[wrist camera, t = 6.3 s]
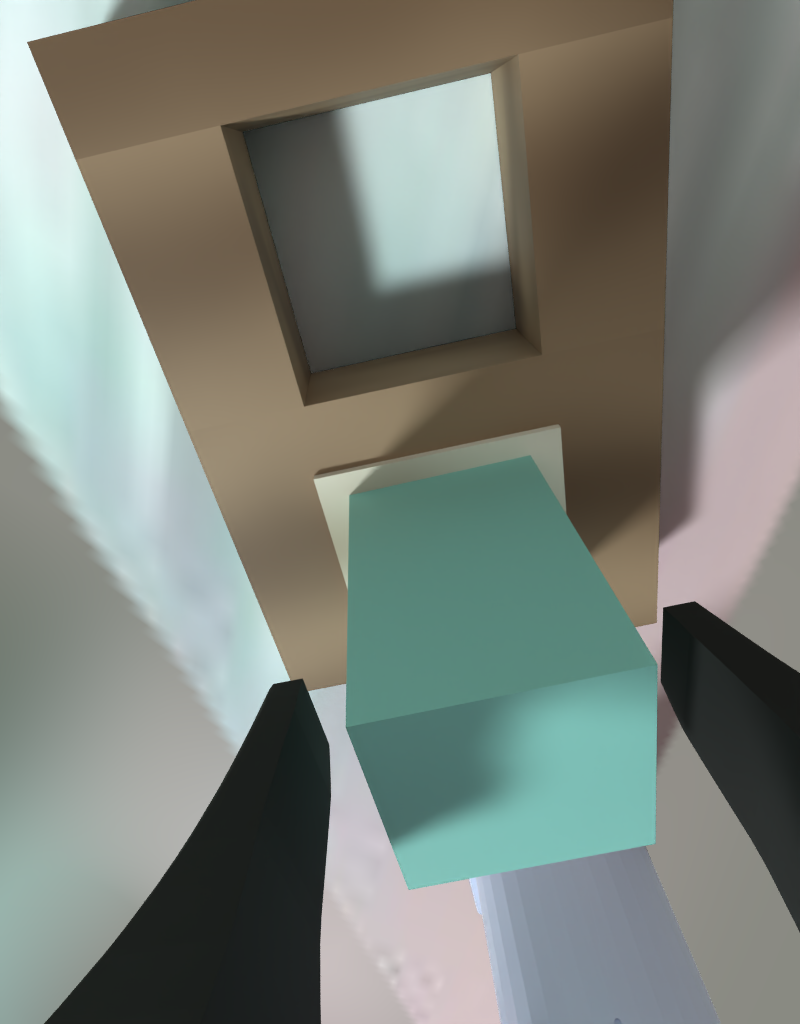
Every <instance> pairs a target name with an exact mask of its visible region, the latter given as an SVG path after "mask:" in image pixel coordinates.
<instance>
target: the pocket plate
mask: <svg viewBox="0 0 800 1024" xmlns="http://www.w3.org/2000/svg"><path fill="white" fill-rule="evenodd" d="M672 29H673V0H195V1H191V2H187V3H183V4H179V5H175V6H171V7H167V8H163V9H159V10H155V11H150V12H146V13H142V14H138V15H134V16H130V17H126V18H122V19H118V20H114V21H110V22H106V23H102V24H98V25H94V26H90V27H86V28H82V29H78V30H74V31H70V32H66V33H62V34H58V35H54V36H50V37H46V38H42V39H38V40H34V41H30V42H27V43H28V45H29V48H30V50H31V53H32V55H33V57H34V60H35V62H36V65H37V67H38V70H39V72H40V74H41V77H42V79H43V82H44V84H45V86H46V89H47V91H48V94H49V96H50V99H51V101H52V103H53V106H54V108H55V111H56V113H57V116H58V118H59V120H60V123H61V125H62V128H63V130H64V133H65V135H66V137H67V140H68V142H69V145H70V147H71V149H72V152H73V154H74V157H75V159H76V162H77V164H78V166H79V169H80V171H81V174H82V176H83V179H84V181H85V183H86V186H87V188H88V191H89V193H90V196H91V198H92V200H93V203H94V205H95V208H96V210H97V212H98V215H99V217H100V220H101V222H102V225H103V227H104V229H105V232H106V234H107V237H108V239H109V242H110V244H111V246H112V249H113V251H114V254H115V256H116V258H117V261H118V263H119V266H120V268H121V271H122V273H123V275H124V278H125V280H126V283H127V285H128V288H129V290H130V292H131V295H132V297H133V300H134V302H135V305H136V307H137V309H138V312H139V314H140V317H141V319H142V321H143V324H144V326H145V329H146V331H147V334H148V336H149V338H150V341H151V343H152V346H153V348H154V351H155V353H156V355H157V358H158V360H159V363H160V365H161V368H162V370H163V372H164V375H165V377H166V380H167V382H168V384H169V387H170V389H171V392H172V394H173V397H174V399H175V401H176V404H177V406H178V409H179V411H180V414H181V416H182V418H183V421H184V423H185V426H186V428H187V431H188V433H189V435H190V438H191V440H192V443H193V445H194V447H195V450H196V452H197V455H198V457H199V460H200V462H201V464H202V467H203V469H204V472H205V474H206V477H207V479H208V481H209V484H210V486H211V489H212V491H213V493H214V496H215V498H216V501H217V503H218V506H219V508H220V510H221V513H222V515H223V518H224V520H225V523H226V525H227V527H228V530H229V532H230V535H231V537H232V540H233V542H234V544H235V547H236V549H237V552H238V554H239V556H240V559H241V561H242V564H243V566H244V569H245V571H246V573H247V576H248V578H249V581H250V583H251V586H252V588H253V590H254V593H255V595H256V598H257V600H258V603H259V605H260V607H261V610H262V612H263V615H264V617H265V619H266V622H267V624H268V627H269V629H270V632H271V634H272V636H273V639H274V641H275V644H276V646H277V649H278V651H279V653H280V656H281V658H282V661H283V663H284V666H285V668H286V670H287V673H288V675H289V678H290V680H291V681H292V680H297V679H302V678H303V680H304V683H305V685H306V688H307V690H308V691H310V690H316V689H321V688H326V687H331V686H336V685H341V684H346V681H347V614H348V547H349V495H353V494H357V493H362V492H366V491H371V490H375V489H380V488H384V487H389V486H393V485H398V484H402V483H407V482H411V481H416V480H420V479H425V478H429V477H434V476H439V475H443V474H448V473H452V472H457V471H461V470H466V469H470V468H475V467H479V466H484V465H488V464H493V463H497V462H502V461H506V460H511V459H515V458H520V457H524V456H529V455H531V457H532V459H533V460H534V462H535V463H536V465H537V467H538V468H539V470H540V472H541V473H542V475H543V477H544V478H545V480H546V482H547V483H548V485H549V487H550V488H551V490H552V491H553V493H554V495H555V496H556V498H557V500H558V501H559V503H560V505H561V506H562V508H563V510H564V511H565V513H566V515H567V516H568V518H569V519H570V521H571V523H572V524H573V526H574V528H575V529H576V531H577V533H578V534H579V536H580V538H581V539H582V541H583V543H584V544H585V546H586V547H587V549H588V551H589V552H590V554H591V556H592V557H593V559H594V561H595V562H596V564H597V566H598V567H599V569H600V571H601V572H602V574H603V576H604V577H605V579H606V580H607V582H608V584H609V585H610V587H611V589H612V590H613V592H614V594H615V595H616V597H617V599H618V600H619V602H620V604H621V605H622V607H623V608H624V610H625V612H626V613H627V615H628V617H629V618H630V620H631V622H632V623H633V625H634V627H638V626H643V625H648V624H653V623H657V589H658V552H659V514H660V477H661V439H662V402H663V365H664V327H665V290H666V253H667V215H668V178H669V141H670V103H671V66H672ZM488 73H491V79H492V89H493V99H494V110H495V120H496V130H497V140H498V150H499V160H500V170H501V180H502V191H503V201H504V211H505V221H506V231H507V241H508V251H509V261H510V271H511V282H512V292H513V302H514V312H515V322H516V329H513V330H508V331H503V332H499V333H494V334H490V335H485V336H481V337H476V338H471V339H467V340H462V341H458V342H453V343H449V344H444V345H439V346H435V347H430V348H426V349H421V350H417V351H412V352H407V353H403V354H398V355H394V356H389V357H385V358H380V359H375V360H371V361H366V362H362V363H357V364H353V365H348V366H343V367H339V368H334V369H330V370H325V371H321V372H316V373H311V372H310V369H309V365H308V362H307V358H306V355H305V351H304V348H303V344H302V340H301V337H300V333H299V330H298V326H297V323H296V319H295V316H294V312H293V309H292V305H291V302H290V298H289V295H288V291H287V288H286V284H285V281H284V277H283V273H282V270H281V266H280V263H279V259H278V256H277V252H276V249H275V245H274V242H273V238H272V235H271V231H270V228H269V224H268V221H267V217H266V213H265V210H264V206H263V203H262V199H261V196H260V192H259V189H258V185H257V182H256V178H255V175H254V171H253V168H252V164H251V161H250V157H249V153H248V150H247V146H246V143H245V139H244V136H243V132H244V131H248V130H253V129H257V128H261V127H265V126H270V125H274V124H278V123H282V122H286V121H291V120H295V119H299V118H303V117H307V116H312V115H316V114H320V113H324V112H328V111H333V110H337V109H341V108H345V107H349V106H354V105H358V104H362V103H366V102H370V101H375V100H379V99H383V98H387V97H391V96H396V95H400V94H404V93H408V92H412V91H417V90H421V89H425V88H429V87H434V86H438V85H442V84H446V83H450V82H455V81H459V80H463V79H467V78H471V77H476V76H480V75H484V74H488Z"/></svg>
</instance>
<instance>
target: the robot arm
mask: <svg viewBox="0 0 800 1024" xmlns="http://www.w3.org/2000/svg"><path fill="white" fill-rule="evenodd" d="M661 683H662V685H663V688H664V690H665V692H666V694H667V696H668V699H669V701H670V703H671V705H672V707H673V710H674V712H675V714H676V716H677V718H678V720H679V722H680V724H681V726H682V728H683V730H684V732H685V733H686V735H687V737H688V739H689V740H690V742H691V743H692V745H693V747H694V748H695V750H696V751H697V753H698V755H699V756H700V758H701V760H702V761H703V763H704V764H705V766H706V768H707V769H708V771H709V773H710V774H711V776H712V778H713V779H714V781H715V782H716V784H717V785H718V787H719V789H720V790H721V792H722V794H723V795H724V797H725V798H726V800H727V801H728V803H729V805H730V806H731V808H732V809H733V811H734V813H735V814H736V816H737V817H738V819H739V821H740V822H741V824H742V825H743V827H744V829H745V830H746V832H747V834H748V835H749V837H750V838H751V840H752V842H753V843H754V845H755V847H756V849H757V851H758V852H759V854H760V856H761V857H762V859H763V861H764V863H765V864H766V866H767V868H768V870H769V872H770V874H771V876H772V878H773V880H774V882H775V884H776V886H777V888H778V890H779V892H780V894H781V896H782V898H783V900H784V902H785V904H786V906H787V908H788V910H789V912H790V914H791V915H792V918H793V919H794V921H795V923H796V926H797V927H798V930H799V932H800V673H799V672H797V671H796V670H794V669H792V668H791V667H790V666H788V665H787V664H785V663H784V662H782V661H780V660H779V659H777V658H776V657H774V656H773V655H771V654H770V653H768V652H767V651H766V650H764V649H763V648H761V647H760V646H758V645H757V644H755V643H754V642H752V641H751V640H750V639H748V638H747V637H745V636H744V635H742V634H741V633H739V632H738V631H737V630H735V629H734V628H732V627H731V626H729V625H728V624H727V623H725V622H724V621H722V620H721V619H719V618H718V617H717V616H715V615H714V614H712V613H711V612H709V611H708V610H707V609H705V608H704V607H702V606H701V605H699V604H698V603H696V602H695V601H694V602H689V603H684V604H679V605H674V606H669V607H664V608H663V632H662V661H661ZM330 802H331V777H330V751H329V743H328V741H327V738H326V736H325V733H324V731H323V728H322V725H321V723H320V720H319V718H318V715H317V713H316V710H315V708H314V705H313V703H312V700H311V698H310V695H309V693H308V690H307V688H306V685H305V683H304V680H303V678H302V679H297V680H292V681H287V682H282V683H277V684H273V685H272V687H271V688H270V689H269V692H268V694H267V696H266V698H265V700H264V702H263V704H262V706H261V708H260V710H259V712H258V714H257V716H256V719H255V721H254V723H253V725H252V727H251V729H250V731H249V733H248V735H247V737H246V738H245V740H244V742H243V744H242V746H241V748H240V750H239V752H238V754H237V756H236V758H235V759H234V761H233V763H232V765H231V767H230V769H229V771H228V772H227V774H226V776H225V778H224V780H223V782H222V783H221V786H220V787H219V789H218V791H217V792H216V794H215V796H214V797H213V799H212V801H211V803H210V804H209V806H208V807H207V809H206V811H205V812H204V814H203V816H202V817H201V819H200V821H199V822H198V824H197V826H196V827H195V829H194V831H193V832H192V834H191V836H190V837H189V839H188V840H187V842H186V843H185V845H184V846H183V848H182V849H181V851H180V852H179V854H178V856H177V857H176V859H175V860H174V861H173V863H172V864H171V866H170V867H169V869H168V870H167V872H166V873H165V874H164V876H163V877H162V879H161V880H160V882H159V883H158V884H157V886H156V887H155V889H154V890H153V891H152V893H151V894H150V895H149V897H148V898H147V899H146V901H145V902H144V904H143V905H142V906H141V908H140V909H139V910H138V911H137V913H136V914H135V916H134V917H133V918H132V919H131V921H130V922H129V923H128V925H127V926H126V927H125V929H124V930H123V931H122V932H121V934H120V935H119V936H118V938H117V939H116V940H115V942H114V943H113V944H112V945H111V946H110V948H109V949H108V950H107V951H106V953H105V954H104V955H103V956H102V957H101V958H100V960H99V961H98V962H97V963H96V964H95V966H94V967H93V968H92V969H91V970H90V971H89V973H88V974H87V975H86V976H85V977H84V978H83V980H82V981H81V982H80V983H79V984H78V985H77V987H76V988H75V989H74V990H73V991H72V992H71V994H70V995H69V996H68V997H67V998H66V1000H65V1001H64V1002H63V1003H62V1004H61V1005H60V1007H59V1008H58V1009H57V1010H56V1011H55V1012H54V1013H53V1014H52V1015H51V1017H50V1018H49V1019H48V1020H47V1021H46V1022H45V1023H44V1024H321V1010H320V935H321V915H322V902H323V890H324V878H325V866H326V854H327V842H328V829H329V816H330ZM469 880H470V884H471V888H472V892H473V896H474V900H475V903H476V907H477V911H478V913H480V914H481V915H482V917H483V923H484V928H485V934H486V940H487V946H488V952H489V958H490V964H491V970H492V975H493V981H494V987H495V993H496V999H497V1005H498V1011H499V1016H500V1022H501V1024H721V1022H720V1020H719V1018H718V1015H717V1013H716V1010H715V1008H714V1006H713V1003H712V1001H711V999H710V996H709V994H708V992H707V989H706V987H705V985H704V982H703V980H702V978H701V975H700V973H699V971H698V968H697V966H696V964H695V961H694V959H693V957H692V954H691V952H690V950H689V947H688V945H687V943H686V940H685V938H684V936H683V933H682V931H681V928H680V926H679V924H678V921H677V919H676V917H675V915H674V913H673V910H672V908H671V905H670V903H669V900H668V898H667V896H666V893H665V891H664V889H663V886H662V884H661V882H660V879H659V877H658V875H657V873H656V870H655V868H654V865H653V863H652V861H651V858H650V856H649V854H648V851H647V849H646V847H645V846H641V847H636V848H631V849H625V850H620V851H614V852H609V853H604V854H598V855H593V856H588V857H582V858H577V859H572V860H566V861H561V862H556V863H550V864H545V865H540V866H534V867H529V868H523V869H518V870H513V871H507V872H502V873H497V874H491V875H486V876H481V877H475V878H470V879H469Z"/></svg>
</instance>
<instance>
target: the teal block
mask: <svg viewBox="0 0 800 1024" xmlns="http://www.w3.org/2000/svg"><path fill="white" fill-rule="evenodd" d="M346 729H347V732H348V734H349V737H350V739H351V742H352V745H353V747H354V750H355V752H356V755H357V757H358V760H359V763H360V765H361V768H362V770H363V773H364V776H365V778H366V781H367V783H368V786H369V788H370V791H371V794H372V796H373V799H374V801H375V804H376V806H377V809H378V812H379V814H380V817H381V819H382V822H383V825H384V827H385V830H386V832H387V835H388V837H389V840H390V843H391V845H392V848H393V850H394V853H395V856H396V858H397V861H398V863H399V866H400V868H401V871H402V874H403V876H404V879H405V881H406V884H407V886H408V889H409V890H411V889H416V888H422V887H427V886H432V885H438V884H443V883H448V882H454V881H459V880H465V879H470V878H475V877H481V876H486V875H491V874H497V873H502V872H507V871H513V870H518V869H523V868H529V867H534V866H540V865H545V864H550V863H556V862H561V861H566V860H572V859H577V858H582V857H588V856H593V855H598V854H604V853H609V852H614V851H620V850H625V849H631V848H636V847H641V846H646V845H652V844H655V841H656V840H655V838H656V754H657V663H656V661H655V660H654V658H653V656H652V655H651V653H650V651H649V650H648V648H647V646H646V645H645V643H644V641H643V640H642V638H641V636H640V635H639V633H638V632H637V630H636V628H635V627H634V625H633V623H632V622H631V620H630V618H629V617H628V615H627V613H626V612H625V610H624V608H623V607H622V605H621V604H620V602H619V600H618V599H617V597H616V595H615V594H614V592H613V590H612V589H611V587H610V585H609V584H608V582H607V580H606V579H605V577H604V576H603V574H602V572H601V571H600V569H599V567H598V566H597V564H596V562H595V561H594V559H593V557H592V556H591V554H590V552H589V551H588V549H587V547H586V546H585V544H584V543H583V541H582V539H581V538H580V536H579V534H578V533H577V531H576V529H575V528H574V526H573V524H572V523H571V521H570V519H569V518H568V516H567V515H566V513H565V511H564V510H563V508H562V506H561V505H560V503H559V501H558V500H557V498H556V496H555V495H554V493H553V491H552V490H551V488H550V487H549V485H548V483H547V482H546V480H545V478H544V477H543V475H542V473H541V472H540V470H539V468H538V467H537V465H536V463H535V462H534V460H533V459H532V457H531V455H529V456H524V457H520V458H515V459H511V460H506V461H502V462H497V463H493V464H488V465H484V466H479V467H475V468H470V469H466V470H461V471H457V472H452V473H448V474H443V475H439V476H434V477H429V478H425V479H420V480H416V481H411V482H407V483H402V484H398V485H393V486H389V487H384V488H380V489H375V490H371V491H366V492H362V493H357V494H353V495H349V547H348V614H347V681H346Z"/></svg>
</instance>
